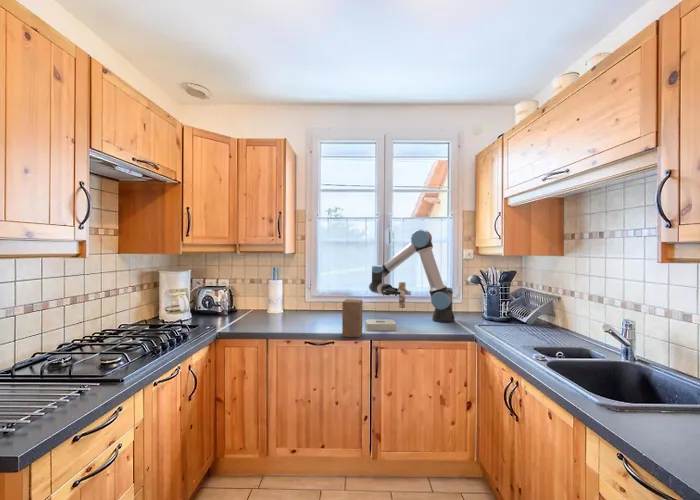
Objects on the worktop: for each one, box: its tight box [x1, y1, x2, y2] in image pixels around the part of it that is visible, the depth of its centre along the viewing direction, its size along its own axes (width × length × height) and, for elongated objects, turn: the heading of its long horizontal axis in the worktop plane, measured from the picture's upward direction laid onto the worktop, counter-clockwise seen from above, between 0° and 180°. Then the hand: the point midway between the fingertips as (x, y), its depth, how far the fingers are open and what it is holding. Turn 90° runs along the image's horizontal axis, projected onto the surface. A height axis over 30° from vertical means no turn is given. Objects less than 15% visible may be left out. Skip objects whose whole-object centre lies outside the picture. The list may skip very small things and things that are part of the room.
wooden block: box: [341, 298, 363, 338], centre depth 212 cm, size 10×10×20 cm
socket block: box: [365, 318, 397, 332], centre depth 229 cm, size 18×13×4 cm
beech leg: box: [398, 281, 407, 309], centre depth 232 cm, size 4×4×16 cm
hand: (407, 293), depth 227 cm, fingers closed on beech leg, 4 cm apart
